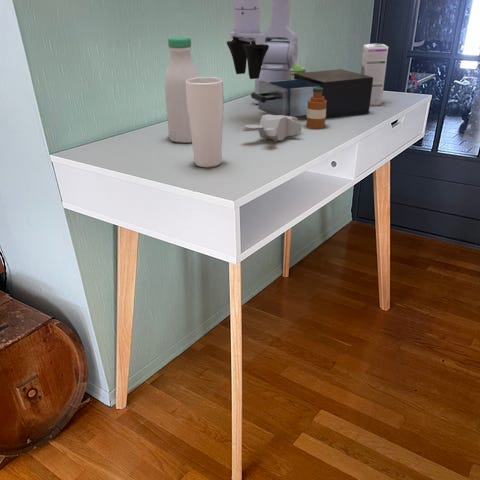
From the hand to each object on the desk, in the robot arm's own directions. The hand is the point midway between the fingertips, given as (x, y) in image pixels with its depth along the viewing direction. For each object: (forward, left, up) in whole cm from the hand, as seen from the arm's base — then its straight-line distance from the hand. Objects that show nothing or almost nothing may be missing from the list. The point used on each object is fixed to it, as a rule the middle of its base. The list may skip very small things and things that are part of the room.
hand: (247, 76), depth 119 cm
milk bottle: (-8, -19, -11) cm, 23 cm away
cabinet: (+17, +18, -10) cm, 27 cm away
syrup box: (+25, +30, -11) cm, 41 cm away
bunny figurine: (+11, -13, -11) cm, 20 cm away
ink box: (0, +39, -11) cm, 41 cm away
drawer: (+7, +9, -9) cm, 15 cm away
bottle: (+17, +1, -10) cm, 20 cm away
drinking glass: (+4, -34, -11) cm, 36 cm away
